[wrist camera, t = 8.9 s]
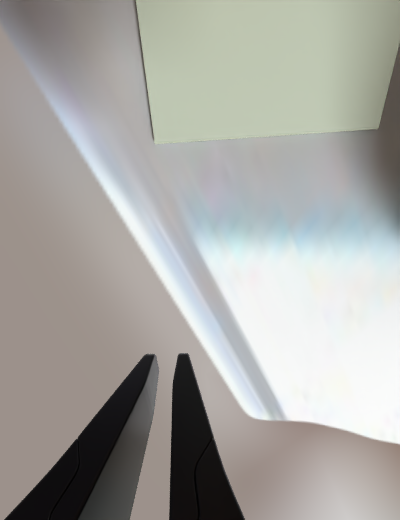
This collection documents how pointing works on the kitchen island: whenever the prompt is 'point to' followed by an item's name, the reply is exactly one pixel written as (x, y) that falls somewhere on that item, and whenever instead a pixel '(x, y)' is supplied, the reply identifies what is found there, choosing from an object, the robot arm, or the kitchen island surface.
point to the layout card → (266, 66)
